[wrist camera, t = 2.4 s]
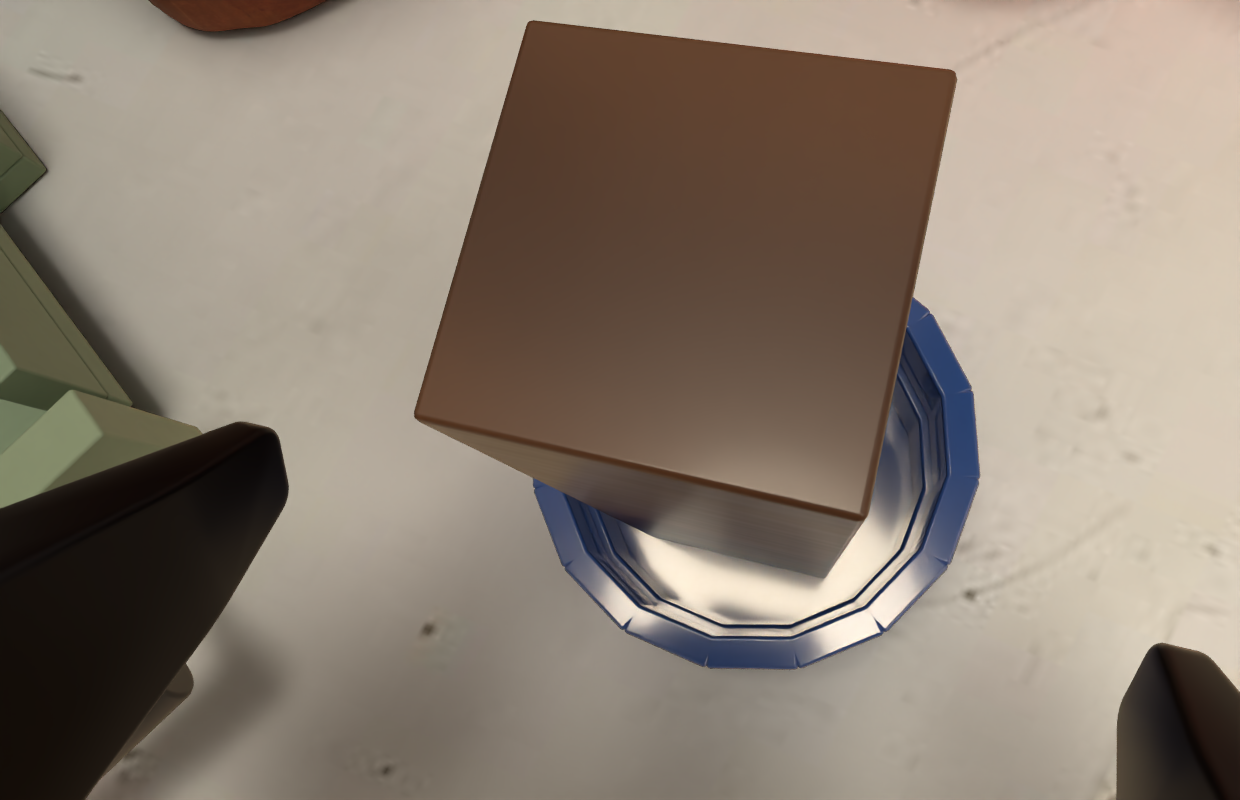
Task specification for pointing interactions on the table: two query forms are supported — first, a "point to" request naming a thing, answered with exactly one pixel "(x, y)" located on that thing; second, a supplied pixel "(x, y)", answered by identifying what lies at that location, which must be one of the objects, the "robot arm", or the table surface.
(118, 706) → the robot arm
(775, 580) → the blue bowl
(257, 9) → the wooden figurine
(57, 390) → the drawer
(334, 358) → the table surface
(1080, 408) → the table surface
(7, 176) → the cabinet
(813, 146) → the walnut block
